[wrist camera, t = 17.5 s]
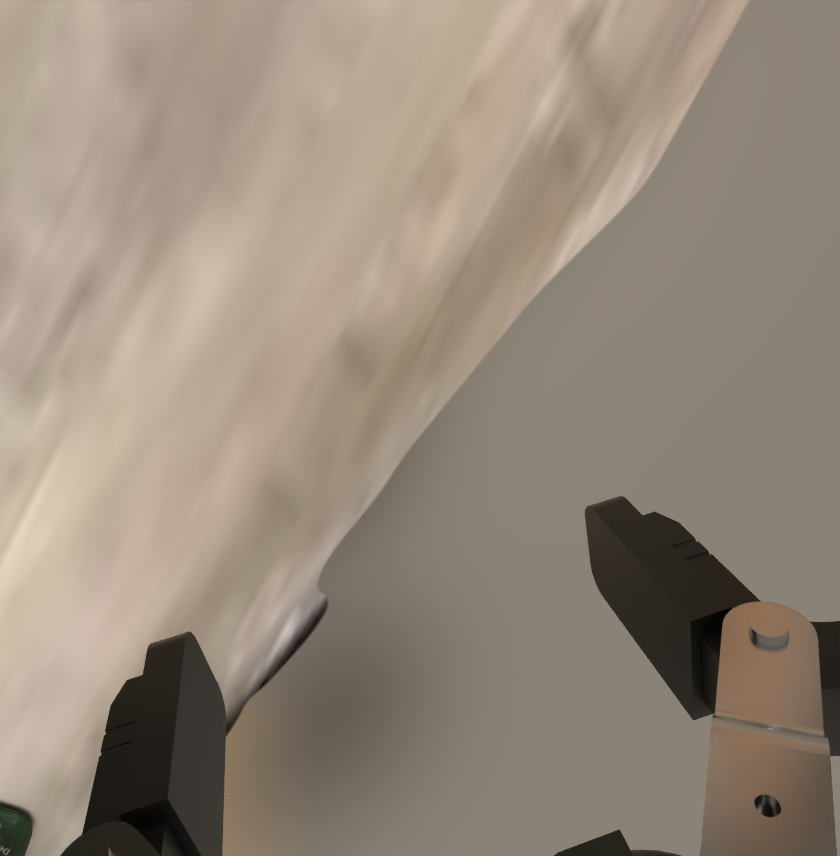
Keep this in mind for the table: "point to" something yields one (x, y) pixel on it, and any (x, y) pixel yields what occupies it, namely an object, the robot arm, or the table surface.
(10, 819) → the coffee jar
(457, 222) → the table surface
